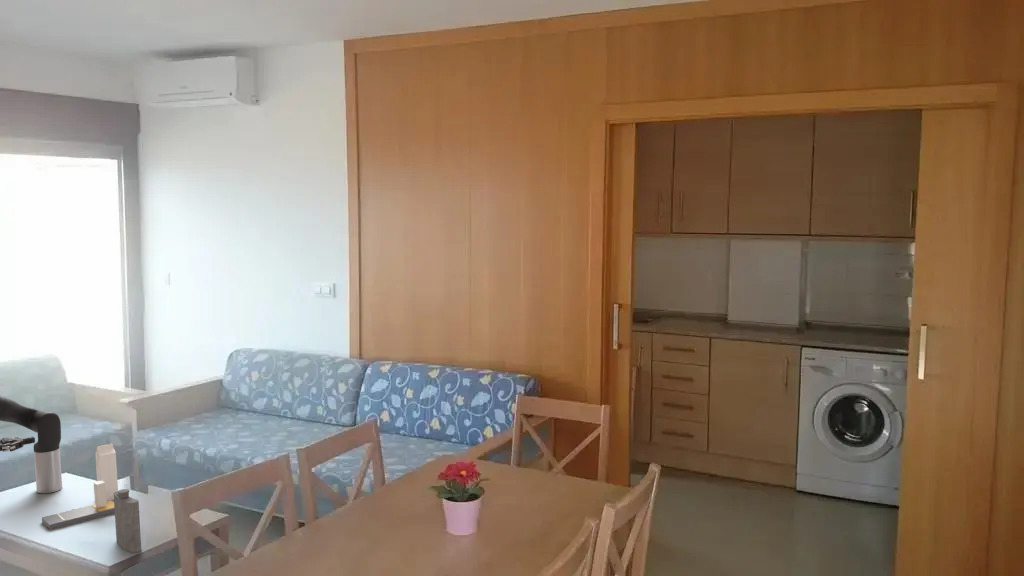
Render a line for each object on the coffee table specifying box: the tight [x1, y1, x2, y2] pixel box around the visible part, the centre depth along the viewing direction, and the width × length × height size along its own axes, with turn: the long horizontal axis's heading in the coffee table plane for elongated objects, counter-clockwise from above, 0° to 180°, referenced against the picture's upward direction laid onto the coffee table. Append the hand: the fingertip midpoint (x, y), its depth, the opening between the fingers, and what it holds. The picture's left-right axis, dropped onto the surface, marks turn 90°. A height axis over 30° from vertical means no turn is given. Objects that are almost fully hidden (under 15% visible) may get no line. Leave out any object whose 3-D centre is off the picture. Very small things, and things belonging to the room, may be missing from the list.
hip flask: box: [113, 488, 142, 554], centre depth 276 cm, size 16×4×20 cm, turn 47°
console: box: [41, 499, 115, 531], centre depth 305 cm, size 10×26×2 cm, turn 134°
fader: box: [93, 480, 107, 508], centre depth 308 cm, size 4×3×9 cm
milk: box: [94, 443, 119, 501], centre depth 323 cm, size 6×6×22 cm
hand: (34, 439), depth 302 cm, fingers closed
